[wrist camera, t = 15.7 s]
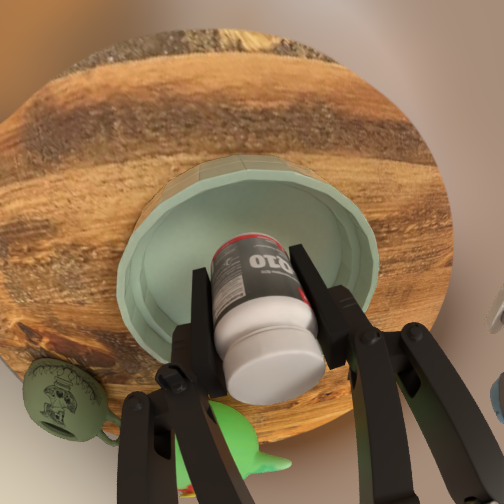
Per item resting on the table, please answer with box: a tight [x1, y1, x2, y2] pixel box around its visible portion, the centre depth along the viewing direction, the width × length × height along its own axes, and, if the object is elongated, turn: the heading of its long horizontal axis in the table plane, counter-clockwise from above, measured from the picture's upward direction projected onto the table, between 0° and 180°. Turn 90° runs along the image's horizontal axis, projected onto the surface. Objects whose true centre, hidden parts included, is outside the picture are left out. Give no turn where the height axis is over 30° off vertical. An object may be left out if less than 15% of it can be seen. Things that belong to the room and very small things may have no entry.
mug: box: [23, 358, 121, 447], centre depth 26 cm, size 16×13×9 cm
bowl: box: [116, 154, 380, 364], centre depth 21 cm, size 19×19×5 cm
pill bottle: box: [210, 232, 325, 405], centre depth 13 cm, size 5×5×8 cm
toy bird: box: [175, 400, 291, 498], centre depth 29 cm, size 18×17×15 cm
